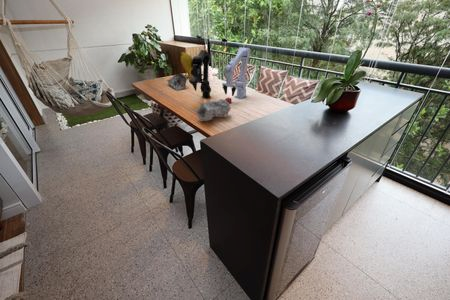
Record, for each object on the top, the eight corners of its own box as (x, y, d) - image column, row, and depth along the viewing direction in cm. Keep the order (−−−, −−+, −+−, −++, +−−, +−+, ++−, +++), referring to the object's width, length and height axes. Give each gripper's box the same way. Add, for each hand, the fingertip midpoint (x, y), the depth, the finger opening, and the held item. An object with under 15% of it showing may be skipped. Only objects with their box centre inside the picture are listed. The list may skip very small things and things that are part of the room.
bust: (212, 120, 140) (239, 108, 156) (200, 99, 140) (228, 90, 156) (203, 130, 153) (228, 118, 170) (191, 111, 154) (218, 101, 170)
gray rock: (192, 83, 223) (180, 73, 240) (188, 78, 216) (175, 68, 233) (181, 95, 223) (169, 84, 240) (176, 91, 217) (164, 80, 234)
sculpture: (191, 75, 276) (188, 51, 262) (201, 77, 256) (198, 51, 242) (178, 77, 267) (174, 52, 252) (186, 80, 247) (182, 52, 232)
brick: (227, 101, 191) (227, 97, 188) (231, 102, 189) (231, 98, 186) (224, 103, 187) (224, 98, 185) (228, 104, 185) (228, 99, 183)
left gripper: (183, 73, 168) (185, 92, 176) (200, 76, 159) (201, 96, 168) (192, 71, 175) (194, 88, 184) (209, 74, 166) (210, 92, 175)
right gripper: (220, 79, 177) (220, 94, 185) (234, 81, 170) (233, 97, 178) (224, 77, 182) (224, 92, 189) (238, 80, 175) (237, 95, 182)
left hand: (199, 91), depth 177 cm, fingers open, 9 cm apart
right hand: (229, 94), depth 184 cm, fingers open, 7 cm apart
